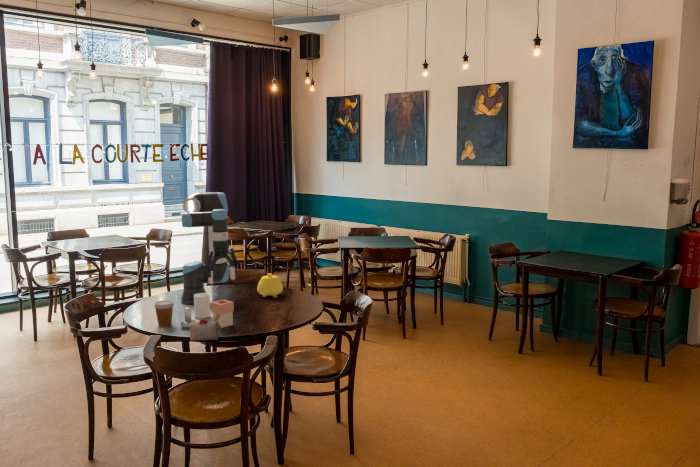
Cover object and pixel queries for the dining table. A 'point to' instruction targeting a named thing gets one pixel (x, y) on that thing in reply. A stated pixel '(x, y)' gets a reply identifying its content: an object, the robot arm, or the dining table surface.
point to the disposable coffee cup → (164, 313)
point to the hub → (187, 319)
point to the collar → (222, 306)
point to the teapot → (269, 285)
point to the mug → (201, 305)
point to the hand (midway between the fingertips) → (222, 281)
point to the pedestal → (223, 319)
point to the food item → (204, 330)
